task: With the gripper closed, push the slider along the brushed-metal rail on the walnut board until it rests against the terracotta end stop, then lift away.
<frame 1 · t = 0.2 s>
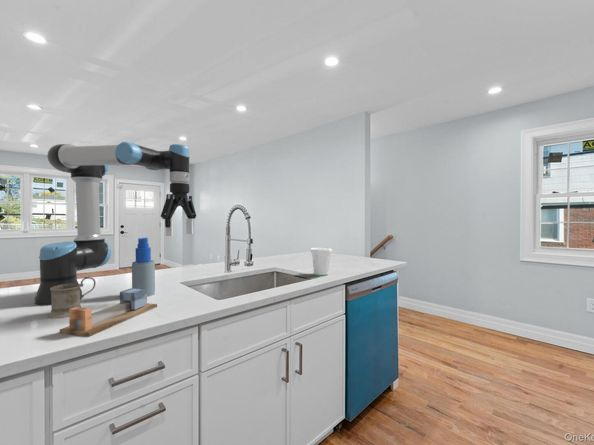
hand: (180, 234, 121), 27 cm above the table, fingers open, 13 cm apart
cup: (321, 274, 172), on the table
rail board: (114, 318, 100), on the table
mug: (73, 312, 106), on the table
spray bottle: (143, 295, 129), on the table
slider: (132, 298, 107), point 4 cm above the table, slide at 0.0 cm
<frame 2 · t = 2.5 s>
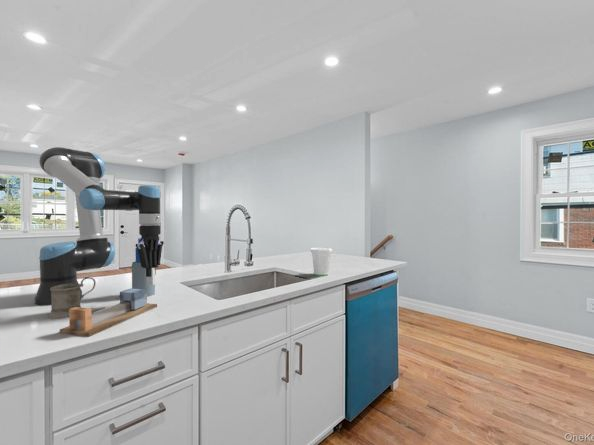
hand: (151, 284, 116), 8 cm above the table, fingers closed
nothing on the table moved.
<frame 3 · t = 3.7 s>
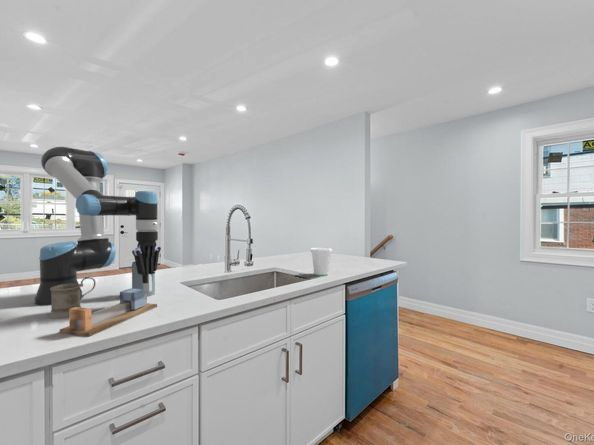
hand: (147, 290, 114), 5 cm above the table, fingers closed
nothing on the table moved.
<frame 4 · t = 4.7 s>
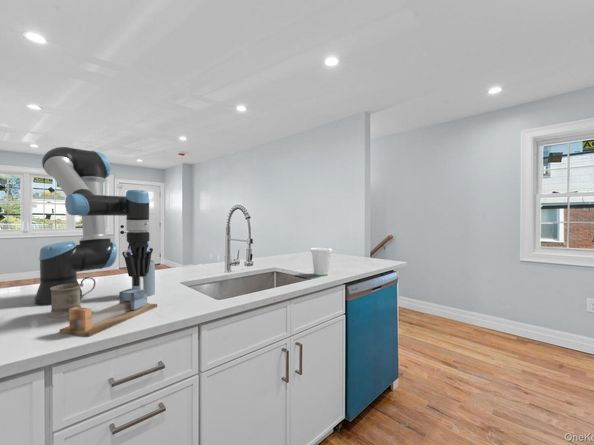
hand: (139, 293, 110), 5 cm above the table, fingers closed
slider: (132, 298, 107), point 4 cm above the table, slide at 0.2 cm, touching gripper
everything else where it was.
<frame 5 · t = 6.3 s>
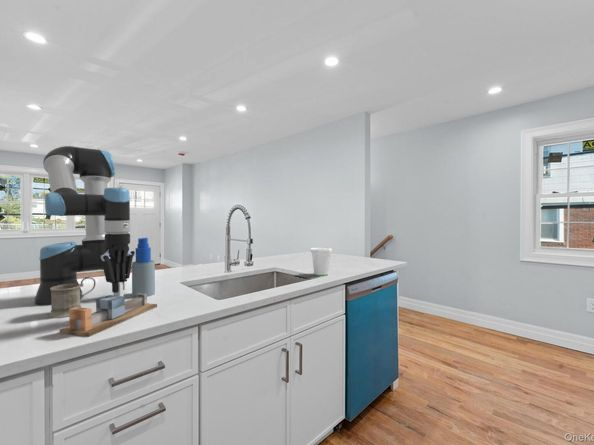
hand: (118, 300, 101), 5 cm above the table, fingers closed
slider: (110, 306, 98), point 4 cm above the table, slide at 9.5 cm, touching gripper
everything else where it was.
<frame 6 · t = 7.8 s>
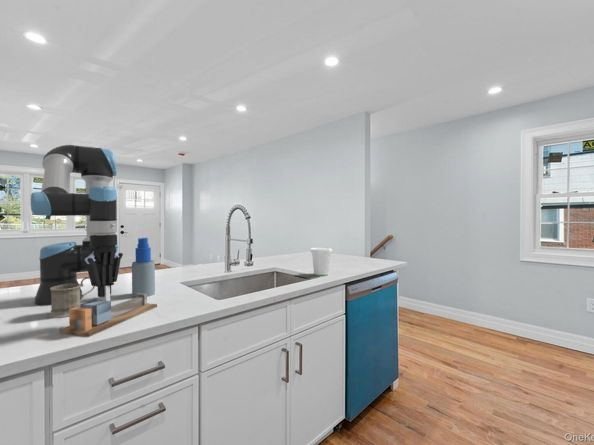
hand: (104, 305, 96), 5 cm above the table, fingers closed
slider: (96, 311, 93), point 4 cm above the table, slide at 14.8 cm, touching gripper
everything else where it was.
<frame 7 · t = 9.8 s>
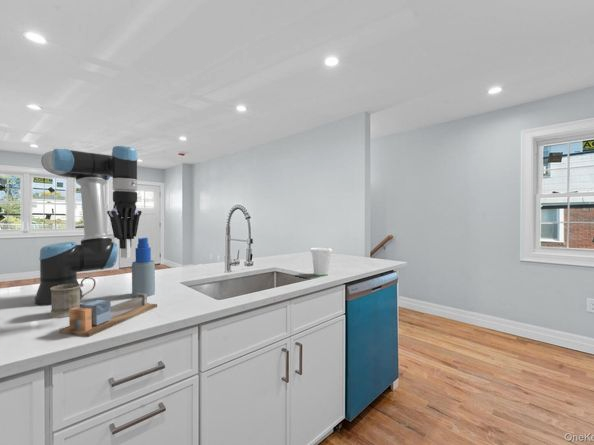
hand: (125, 257, 104), 20 cm above the table, fingers closed
slider: (95, 312, 93), point 4 cm above the table, slide at 15.0 cm
everything else where it was.
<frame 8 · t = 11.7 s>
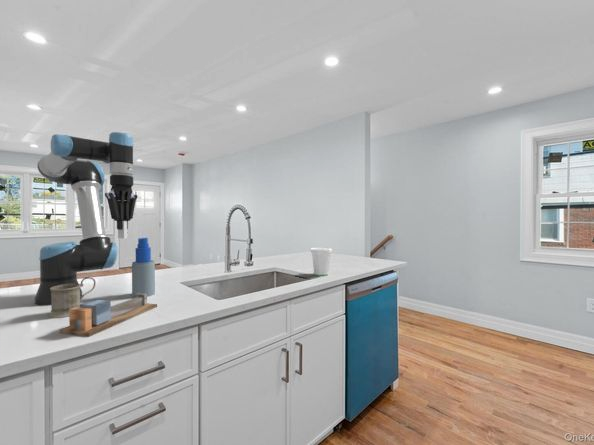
hand: (122, 238, 110), 26 cm above the table, fingers closed
nothing on the table moved.
at the end: slider slide at 15.0 cm; the gripper is holding nothing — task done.
